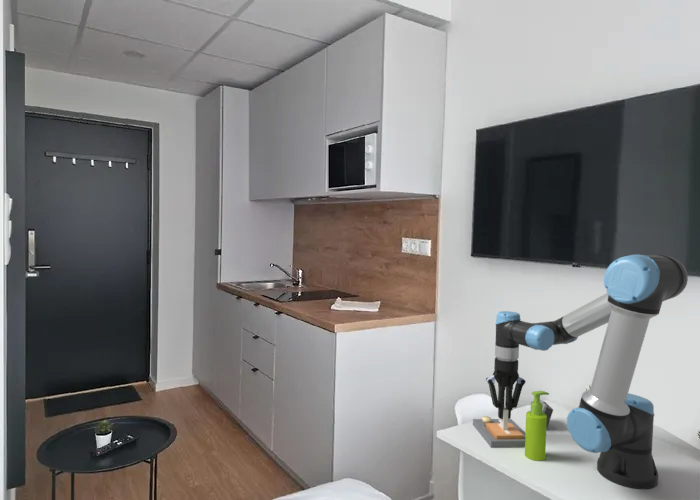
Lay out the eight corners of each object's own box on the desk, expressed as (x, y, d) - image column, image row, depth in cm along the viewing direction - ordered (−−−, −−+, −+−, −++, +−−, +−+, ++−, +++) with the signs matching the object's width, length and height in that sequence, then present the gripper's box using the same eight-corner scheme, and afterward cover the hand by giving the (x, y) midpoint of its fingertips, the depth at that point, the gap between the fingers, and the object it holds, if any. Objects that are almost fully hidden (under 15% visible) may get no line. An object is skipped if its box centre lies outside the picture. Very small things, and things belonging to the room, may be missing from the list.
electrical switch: (527, 420, 175) (530, 395, 174) (541, 422, 175) (544, 397, 174) (536, 431, 165) (539, 405, 165) (551, 433, 165) (554, 406, 165)
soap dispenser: (552, 458, 145) (554, 394, 144) (534, 462, 142) (536, 396, 142) (537, 450, 150) (540, 387, 150) (520, 453, 148) (522, 390, 147)
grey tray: (533, 447, 153) (534, 436, 152) (491, 447, 152) (491, 436, 151) (510, 424, 171) (511, 414, 170) (472, 424, 170) (473, 414, 169)
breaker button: (523, 444, 154) (523, 434, 154) (496, 444, 154) (496, 435, 154) (510, 431, 164) (511, 422, 164) (485, 431, 164) (485, 422, 164)
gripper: (520, 355, 162) (518, 423, 163) (483, 355, 161) (481, 423, 162) (530, 361, 155) (527, 432, 156) (491, 361, 154) (488, 432, 155)
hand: (503, 427), depth 159 cm, fingers closed
